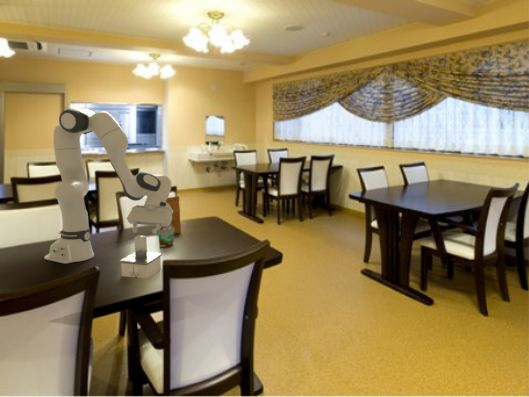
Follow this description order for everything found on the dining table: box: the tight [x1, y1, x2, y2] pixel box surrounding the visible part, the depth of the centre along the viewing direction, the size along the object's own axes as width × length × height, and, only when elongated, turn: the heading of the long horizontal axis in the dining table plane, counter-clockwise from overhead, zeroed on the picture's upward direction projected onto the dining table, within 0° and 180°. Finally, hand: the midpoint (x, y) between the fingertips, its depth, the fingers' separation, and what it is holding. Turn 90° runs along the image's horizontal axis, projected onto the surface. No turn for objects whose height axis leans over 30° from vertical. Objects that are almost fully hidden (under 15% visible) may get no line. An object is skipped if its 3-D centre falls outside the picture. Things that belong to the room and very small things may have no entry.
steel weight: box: [133, 234, 148, 259], centre depth 171 cm, size 5×5×9 cm
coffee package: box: [159, 195, 182, 235], centre depth 234 cm, size 10×12×22 cm
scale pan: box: [119, 251, 163, 265], centre depth 171 cm, size 13×13×1 cm
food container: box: [157, 225, 175, 249], centre depth 209 cm, size 12×6×10 cm, turn 168°
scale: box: [120, 256, 162, 280], centre depth 172 cm, size 12×12×6 cm
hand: (143, 232), depth 173 cm, fingers open, 8 cm apart
